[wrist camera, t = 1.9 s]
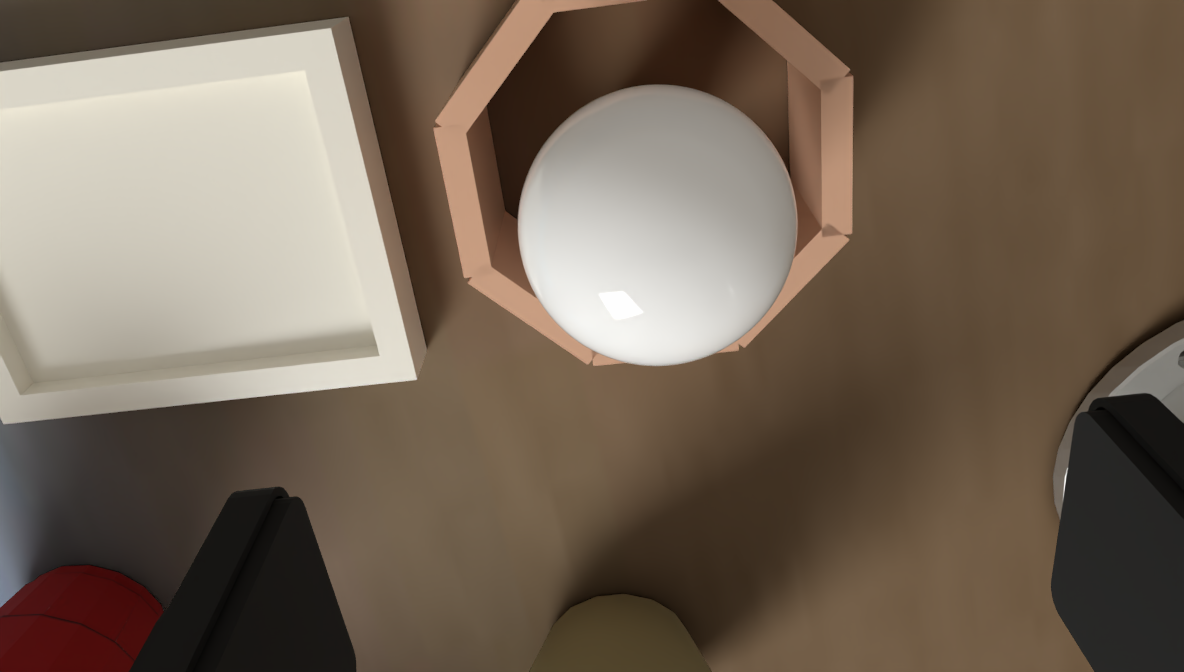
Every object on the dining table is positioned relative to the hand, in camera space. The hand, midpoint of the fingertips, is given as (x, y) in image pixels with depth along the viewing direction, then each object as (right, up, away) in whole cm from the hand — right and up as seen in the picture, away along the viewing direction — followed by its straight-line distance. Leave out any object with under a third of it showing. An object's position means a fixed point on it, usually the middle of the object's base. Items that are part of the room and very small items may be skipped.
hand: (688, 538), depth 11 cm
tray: (-14, +6, +18) cm, 24 cm away
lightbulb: (0, +9, +17) cm, 19 cm away
